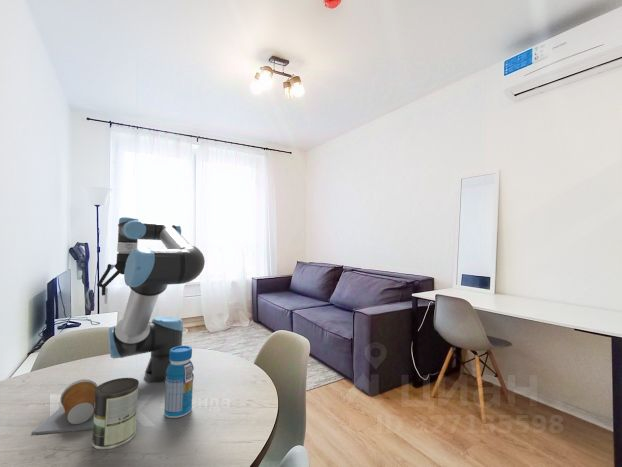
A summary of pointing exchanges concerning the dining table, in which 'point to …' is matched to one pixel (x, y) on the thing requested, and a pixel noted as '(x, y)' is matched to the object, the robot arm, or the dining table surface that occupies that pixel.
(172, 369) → the beverage bottle
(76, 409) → the disposable coffee cup
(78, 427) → the mat
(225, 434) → the dining table surface
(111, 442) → the coffee can
